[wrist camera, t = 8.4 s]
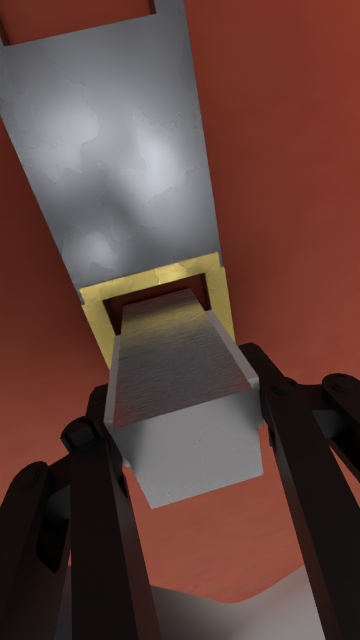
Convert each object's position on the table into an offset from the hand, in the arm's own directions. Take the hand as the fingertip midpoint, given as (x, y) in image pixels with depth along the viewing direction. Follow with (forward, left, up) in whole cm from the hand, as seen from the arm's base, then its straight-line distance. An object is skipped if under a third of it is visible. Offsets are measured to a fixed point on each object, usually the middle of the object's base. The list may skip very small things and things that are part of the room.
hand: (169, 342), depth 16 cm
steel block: (0, 0, -2) cm, 2 cm away
